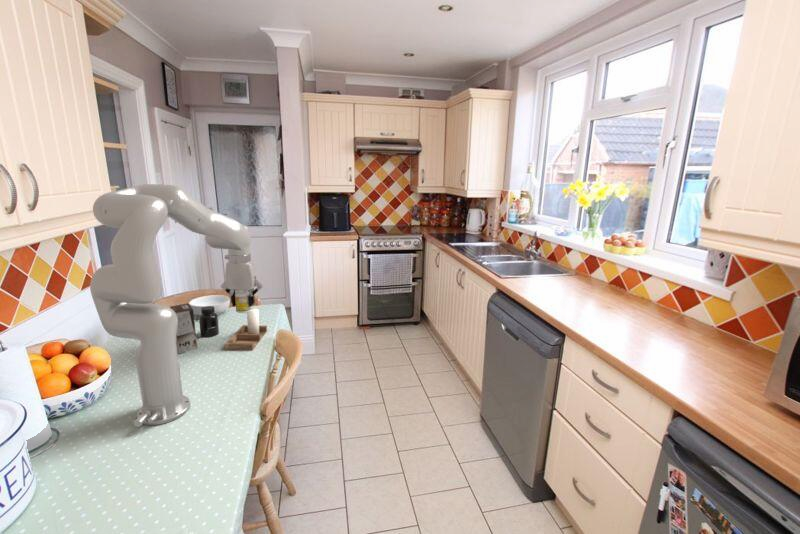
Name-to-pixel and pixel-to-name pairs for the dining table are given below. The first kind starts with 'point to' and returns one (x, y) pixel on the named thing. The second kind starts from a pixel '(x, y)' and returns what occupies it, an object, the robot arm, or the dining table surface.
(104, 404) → the dining table surface
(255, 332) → the rod
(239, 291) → the supplement bottle
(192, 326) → the coffee box
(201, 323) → the supplement bottle
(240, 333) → the rack
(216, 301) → the cereal bowl
